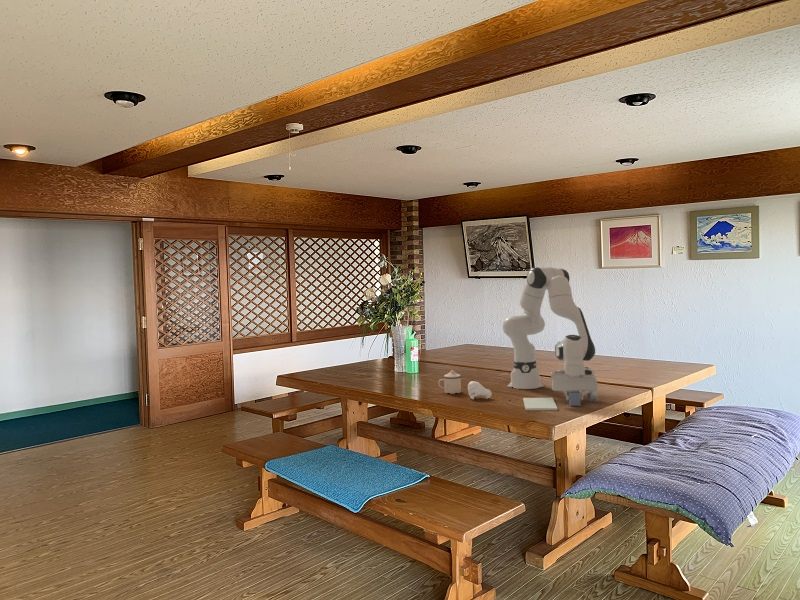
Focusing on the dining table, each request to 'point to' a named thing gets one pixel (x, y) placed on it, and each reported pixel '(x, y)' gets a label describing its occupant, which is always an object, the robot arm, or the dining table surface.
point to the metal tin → (592, 396)
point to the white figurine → (478, 390)
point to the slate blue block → (574, 398)
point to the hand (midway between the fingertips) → (574, 400)
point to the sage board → (539, 404)
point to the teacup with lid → (451, 383)
